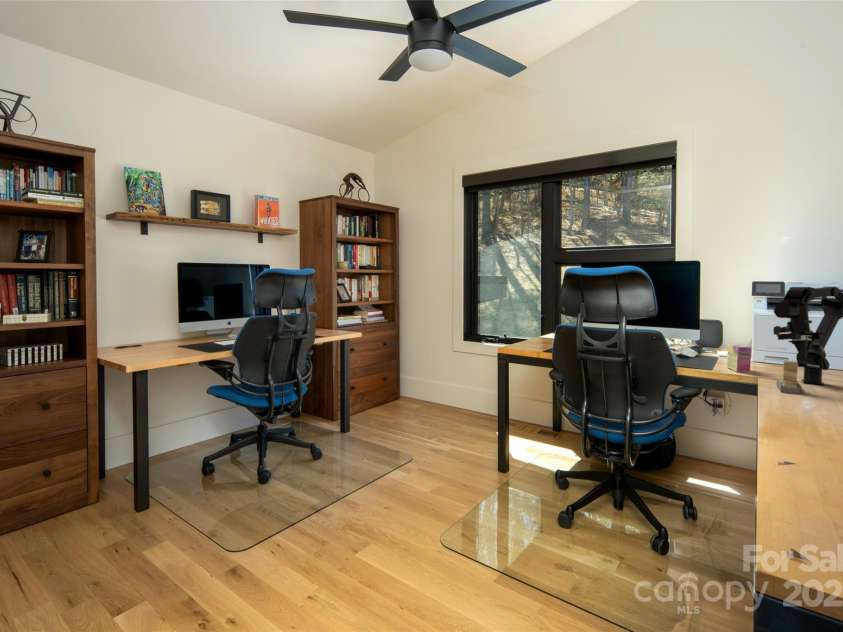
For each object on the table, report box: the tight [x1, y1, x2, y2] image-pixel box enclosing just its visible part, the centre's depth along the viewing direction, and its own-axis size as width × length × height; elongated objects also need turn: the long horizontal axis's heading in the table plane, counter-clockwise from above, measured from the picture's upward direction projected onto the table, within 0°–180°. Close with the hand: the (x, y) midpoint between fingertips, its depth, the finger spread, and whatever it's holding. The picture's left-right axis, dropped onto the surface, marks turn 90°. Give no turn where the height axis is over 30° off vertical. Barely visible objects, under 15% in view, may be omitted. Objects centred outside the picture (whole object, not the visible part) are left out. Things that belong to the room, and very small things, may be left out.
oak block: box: [781, 360, 799, 387], centre depth 176 cm, size 4×4×9 cm
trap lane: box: [776, 378, 803, 395], centre depth 177 cm, size 12×6×3 cm, turn 149°
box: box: [726, 343, 752, 373], centre depth 216 cm, size 10×6×12 cm, turn 168°
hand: (803, 358), depth 180 cm, fingers closed
